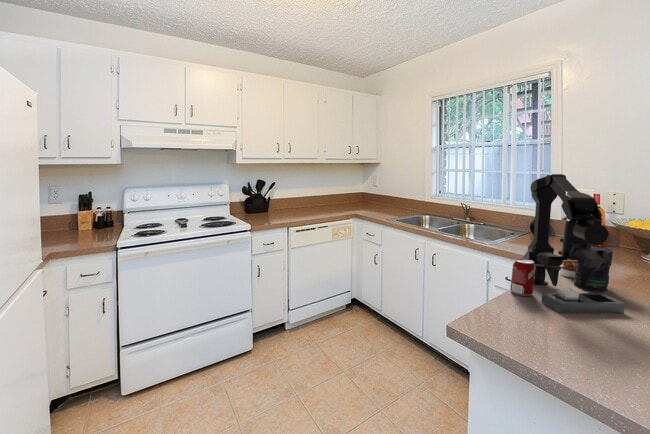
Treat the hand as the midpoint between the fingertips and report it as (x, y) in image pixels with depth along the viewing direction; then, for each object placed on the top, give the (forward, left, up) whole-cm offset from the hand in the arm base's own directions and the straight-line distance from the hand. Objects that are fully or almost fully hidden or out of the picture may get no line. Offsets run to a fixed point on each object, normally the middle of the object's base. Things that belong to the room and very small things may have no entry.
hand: (568, 285), depth 99 cm
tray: (0, +5, -7) cm, 9 cm away
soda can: (-12, -7, -8) cm, 16 cm away
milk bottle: (-31, +26, -8) cm, 41 cm away
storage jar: (-18, +23, -8) cm, 30 cm away
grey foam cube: (0, 0, -6) cm, 7 cm away
